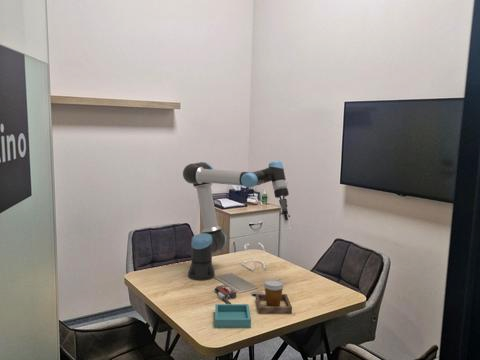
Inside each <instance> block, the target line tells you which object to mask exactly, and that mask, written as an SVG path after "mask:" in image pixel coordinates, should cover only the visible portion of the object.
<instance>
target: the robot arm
mask: <svg viewBox="0 0 480 360" xmlns="http://www.w3.org/2000/svg"><path fill="white" fill-rule="evenodd" d="M182 176H183V177H182V178H183V179H184V181H185V182H187V183H188V184H192V185H193V188H195V189H196V193H197V194H196V195H197V199H198V204H199V210H200V215H201V219H202V225H203V229H202V231H201V233H197V234H194V235H193V237H191V244H190V245H191V247H190V248H191V250H190V251H191V252H190V253H191V254H190V255H191V258H190V260H191V263H190V266H189V268H188V274H187V276H188V278H189V279H191V280H194V281H195V280H196V281H208V280H211V279H214V277H215V275H216V272H215V268H214V265H213V254H215V253H217V252H219V251H221V250H223V248H225V246H226V244H227V235H226V233H224V232H223V231H222V230H223V229H222V227H221V226H220V225H219V223H218V217H217V214H216V209H215V201H214V196H213V191H212V185H213V184H217V185H218V184H219V185H231V186H242V187H245V188H253V187H256V186H261V185H262V184H266V183H269V182H271V184H272V190H273V194H274V197H275V198H276V199H279V200H278V202H279V206H280V208H281V213H280V214H281V215H282V217H283V222H284V226H285V227H284V228H286V230H287V231H288V230H292V225H291V224H292V223H291V220H290V217H291V215H290V214H289V212H288V200H287V198H286V197H288V196H289V194H290V193H289V189H288V181H286V174H285V168H284V165H283V163H282V161H280V160H274V161H271V162H269V163H268V167H266V168H264V169H260V170H255V171H252V172H251V171H239V170H237V171H235V170H225V169H224V170H223V169H214V167H213V166H212V164H210V163H209V162H208V163H207V162H203V161H202V162H201V161H200V162H196V163H189V164H187V165H186V166H185V167H184V168H183V171H182Z"/></svg>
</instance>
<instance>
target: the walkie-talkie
mask: <svg viewBox="0 0 480 360" xmlns="http://www.w3.org/2000/svg"><path fill="white" fill-rule="evenodd" d="M213 290H214V291H215V293H217V298H218V299H219V300H221V301H224V302H226V304H232V302H231V301H229V300H230V299H236V298H237V292H236V291H235V290H233V289H232V288H231V287H230V286H228V285H226V284H222V285H221V284H220V285H217V286H216V287H215V288H214V289H213Z"/></svg>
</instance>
